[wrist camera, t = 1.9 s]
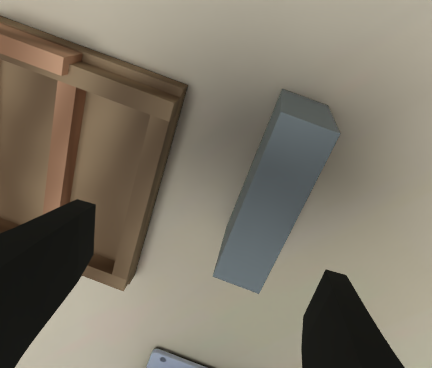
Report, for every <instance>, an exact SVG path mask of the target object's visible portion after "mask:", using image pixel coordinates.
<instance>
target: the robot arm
mask: <svg viewBox="0 0 432 368" xmlns="http://www.w3.org/2000/svg"><path fill="white" fill-rule="evenodd" d="M95 212H96V204H93V203H89V202H86V201H82V200H79V199H76V200H74V201H72V202H69V203H67V204H65V205H63V206H60V207H58V208H56V209H54V210H52V211H50V212H48V213H45V214H43V215H41V216H39V217H37V218H35V219H32V220H30V221H28V222H26V223H23V224H21V225H19V226H17V227H15V228H12V229H10V230H7V231H5V232H2V233H0V368H15V366H16V365H17V363H18V361H19V360H20V358H21V357H22V355H23V354H24V352H25V351H26V350H27V348H28V347H29V345H30V344H31V343H32V341H33V340H34V339H35V337H36V336H37V335H38V333H39V332H40V331H41V330H42V328H43V327H44V326H45V324H46V323H47V322H48V320H49V319H50V318H51V317H52V315H53V314H54V313H55V311H56V310H57V309H58V307H59V306H60V305H61V304H62V302H63V301H64V300H65V298H66V297H67V296H68V294H69V293H70V292H71V290H72V289H73V288H74V286H75V285H76V284H77V282H78V281H79V279H80V277H81V276H82V274H83V272H84V271H85V269H86V267H87V265H88V264H89V262H90V260H91V258H92V256H93V255H94V233H95ZM302 367H303V368H405V367H404V366H403V365H402V363H401V362H400V360H399V359H398V358H397V356H396V355H395V353H394V352H393V350H392V349H391V347H390V346H389V344H388V343H387V341H386V340H385V338H384V337H383V335H382V334H381V332H380V330H379V329H378V327H377V326H376V324H375V322H374V321H373V319H372V318H371V316H370V314H369V313H368V311H367V309H366V308H365V306H364V304H363V303H362V301H361V299H360V298H359V296H358V294H357V292H356V291H355V289H354V287H353V286H352V284H351V282H350V281H349V279H348V277H347V276H346V275H344V274H340V273H336V272H333V271H329V270H325V272H324V274H323V276H322V278H321V281H320V283H319V285H318V287H317V289H316V291H315V293H314V295H313V297H312V299H311V301H310V304H309V306H308V308H307V310H306V312H305V314H304V317H303V330H302ZM146 368H207V367H204V366H202V365H199V364H197V363H194V362H191V361H189V360H186V359H184V358H181V357H178V356H176V355H173V354H171V353H168V352H165V351H163V350H160V349H154V350H153V351H152V353H151V356H150V359H149V361H148V364H147V367H146Z"/></svg>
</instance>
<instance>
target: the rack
mask: <svg viewBox="0 0 432 368" xmlns="http://www.w3.org/2000/svg"><path fill="white" fill-rule="evenodd" d="M187 87H188V85H186V84H183V83H181V82H178V81H175V80H172V79H170V78H167V77H164V76H162V75H159V74H156V73H153V72H151V71H148V70H145V69H143V68H140V67H137V66H135V65H132V64H129V63H126V62H124V61H121V60H118V59H116V58H113V57H110V56H107V55H105V54H102V53H99V52H97V51H94V50H91V49H88V48H86V47H83V46H80V45H78V44H75V43H72V42H69V41H67V40H64V39H61V38H59V37H56V36H53V35H50V34H48V33H45V32H42V31H40V30H37V29H34V28H31V27H29V26H26V25H23V24H21V23H18V22H15V21H12V20H10V19H7V18H4V17H2V16H0V233H2V232H5V231H7V230H10V229H12V228H15V227H17V226H19V225H21V224H23V223H26V222H28V221H30V220H32V219H35V218H37V217H39V216H41V215H43V214H45V213H48V212H50V211H52V210H54V209H56V208H58V207H60V206H63V205H65V204H67V203H69V202H72V201H74V200H76V199H79V200H82V201H86V202H89V203H93V204H96V212H95V233H94V255H93V256H92V258H91V260H90V262H89V264H88V265H87V267H86V269H85V271H84V272H83V274H82V276H85V277H87V278H90V279H93V280H95V281H98V282H100V283H103V284H106V285H108V286H111V287H114V288H116V289H119V290H121V291H124V290H125V288H126V286H127V285H128V284H130V282H131V280H132V279H133V277H134V275H135V272H136V268H137V265H138V261H139V258H140V254H141V251H142V247H143V243H144V240H145V236H146V233H147V229H148V226H149V222H150V218H151V215H152V211H153V208H154V204H155V201H156V197H157V194H158V190H159V186H160V183H161V179H162V176H163V172H164V169H165V165H166V161H167V158H168V154H169V151H170V147H171V144H172V140H173V137H174V133H175V129H176V126H177V122H178V119H179V115H180V112H181V108H182V105H183V101H184V97H185V94H186V90H187Z"/></svg>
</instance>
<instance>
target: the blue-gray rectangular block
mask: <svg viewBox="0 0 432 368" xmlns="http://www.w3.org/2000/svg"><path fill="white" fill-rule="evenodd" d="M339 136H340V132H339V129H338V127H337V125H336V123H335V120H334V118H333V116H332V114H331V111H330V109H329V107H328V105H325V104H322V103H319V102H317V101H314V100H311V99H309V98H306V97H303V96H300V95H298V94H295V93H292V92H289V91H287V90H284V89H282V91H281V93H280V96H279V98H278V101H277V103H276V106H275V108H274V111H273V113H272V115H271V118H270V120H269V123H268V125H267V128H266V130H265V133H264V135H263V138H262V140H261V143H260V145H259V148H258V150H257V153H256V155H255V158H254V160H253V162H252V165H251V167H250V170H249V172H248V175H247V177H246V180H245V182H244V185H243V187H242V190H241V192H240V195H239V197H238V200H237V202H236V205H235V207H234V210H233V212H232V214H231V217H230V219H229V222H228V224H227V227H226V231H225V234H224V238H223V241H222V245H221V248H220V252H219V256H218V259H217V263H216V266H215V270H214V273H213V277H215V278H218V279H221V280H223V281H226V282H229V283H231V284H234V285H237V286H239V287H242V288H245V289H247V290H250V291H252V292H255V293H258V294H259V293H260V291H261V289H262V287H263V285H264V283H265V281H266V279H267V277H268V275H269V273H270V271H271V269H272V267H273V265H274V263H275V261H276V259H277V257H278V255H279V253H280V251H281V249H282V248H283V246H284V244H285V242H286V240H287V238H288V236H289V234H290V232H291V230H292V228H293V226H294V224H295V222H296V220H297V218H298V216H299V214H300V212H301V210H302V208H303V206H304V204H305V202H306V200H307V198H308V196H309V194H310V193H311V191H312V189H313V187H314V185H315V183H316V181H317V179H318V177H319V175H320V173H321V171H322V169H323V167H324V165H325V163H326V161H327V159H328V157H329V155H330V153H331V151H332V149H333V147H334V145H335V143H336V141H337V139H338V137H339Z"/></svg>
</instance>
